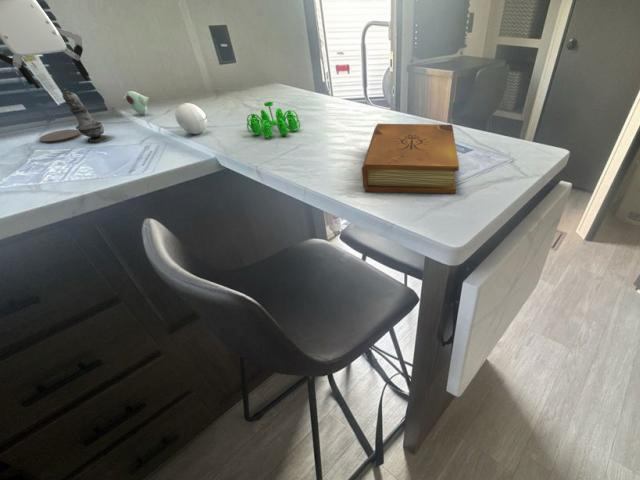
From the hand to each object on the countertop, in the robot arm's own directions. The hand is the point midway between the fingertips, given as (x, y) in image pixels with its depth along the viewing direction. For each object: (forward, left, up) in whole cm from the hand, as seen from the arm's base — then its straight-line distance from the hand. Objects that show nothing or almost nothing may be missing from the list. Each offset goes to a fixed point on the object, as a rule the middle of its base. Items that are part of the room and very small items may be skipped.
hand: (63, 83), depth 76 cm
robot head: (+5, +21, -13) cm, 25 cm away
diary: (+78, -39, -13) cm, 88 cm away
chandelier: (+47, -5, -13) cm, 49 cm away
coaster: (-11, +5, -13) cm, 18 cm away
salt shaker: (0, 0, -13) cm, 13 cm away
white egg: (+26, 0, -13) cm, 29 cm away
